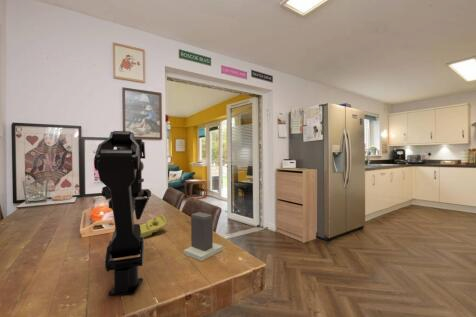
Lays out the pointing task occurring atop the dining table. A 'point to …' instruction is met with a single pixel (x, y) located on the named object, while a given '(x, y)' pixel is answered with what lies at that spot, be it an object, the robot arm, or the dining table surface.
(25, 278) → the dining table surface
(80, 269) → the dining table surface
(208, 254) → the board
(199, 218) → the block
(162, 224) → the plastic component
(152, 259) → the dining table surface
